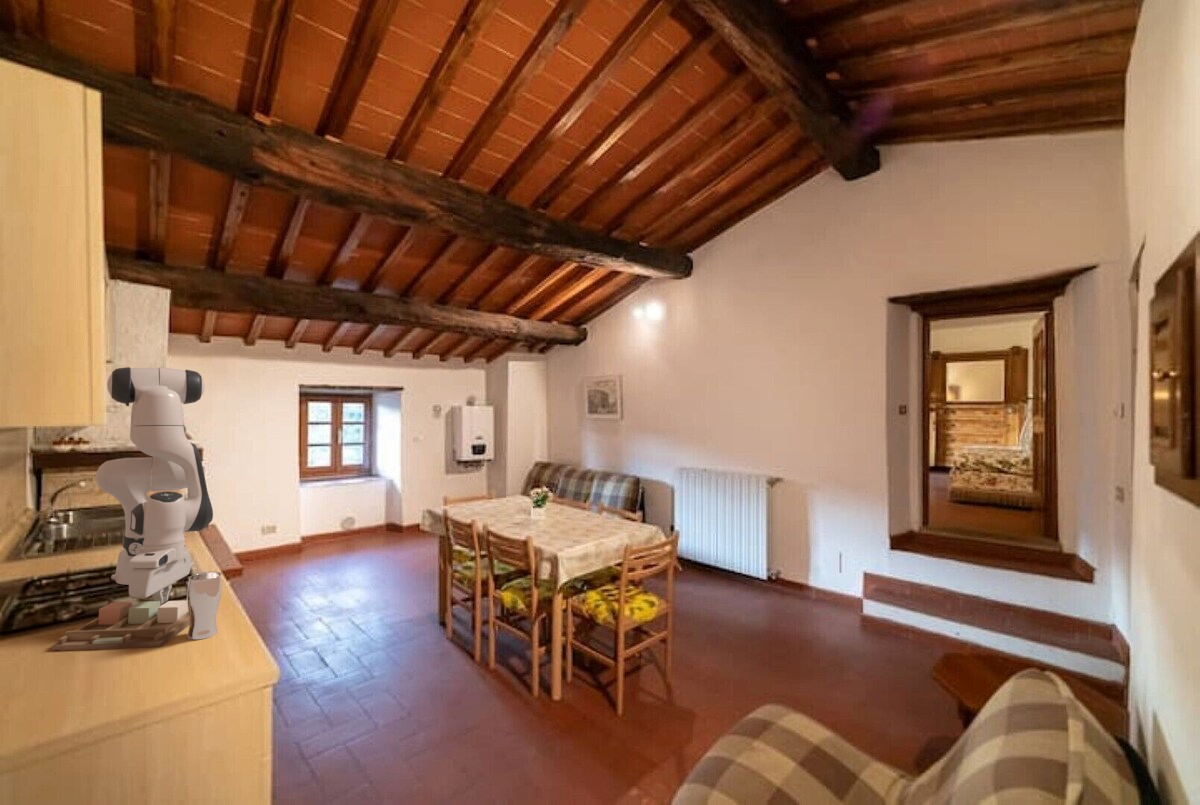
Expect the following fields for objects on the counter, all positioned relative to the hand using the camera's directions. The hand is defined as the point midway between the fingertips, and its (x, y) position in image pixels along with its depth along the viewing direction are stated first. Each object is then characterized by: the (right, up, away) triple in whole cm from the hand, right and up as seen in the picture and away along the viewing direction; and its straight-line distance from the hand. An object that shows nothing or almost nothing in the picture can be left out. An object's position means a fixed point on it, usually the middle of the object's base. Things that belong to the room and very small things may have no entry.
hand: (160, 603), depth 141 cm
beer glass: (+19, -4, -10) cm, 22 cm away
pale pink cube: (+8, -2, -5) cm, 9 cm away
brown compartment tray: (+2, -3, -10) cm, 11 cm away
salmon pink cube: (-5, -2, -8) cm, 10 cm away
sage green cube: (+1, -2, -7) cm, 7 cm away
